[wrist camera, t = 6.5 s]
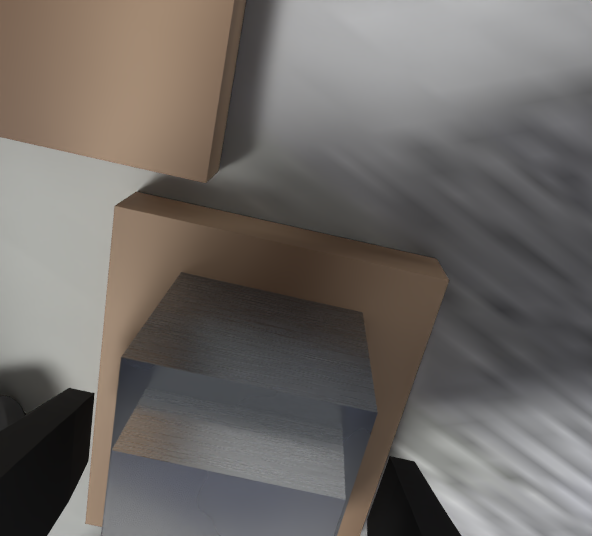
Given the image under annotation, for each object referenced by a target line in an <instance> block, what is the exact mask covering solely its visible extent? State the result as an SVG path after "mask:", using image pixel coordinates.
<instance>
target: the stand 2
mask: <svg viewBox="0 0 592 536" xmlns="http://www.w3.org/2000/svg"><path fill="white" fill-rule="evenodd" d="M181 272H183V273H188V274H192V275H197V276H201V277H206V278H210V279H215V280H219V281H224V282H228V283H233V284H237V285H242V286H246V287H251V288H255V289H260V290H264V291H269V292H273V293H278V294H282V295H287V296H291V297H296V298H300V299H305V300H309V301H314V302H318V303H323V304H327V305H332V306H336V307H341V308H345V309H350V310H354V311H359V312H363V318H364V325H365V331H366V338H367V345H368V351H369V358H370V365H371V371H372V378H373V385H374V391H375V398H376V405H377V411H378V414H377V417H376V420H375V423H374V426H373V429H372V432H371V435H370V438H369V441H368V444H367V447H366V450H365V453H364V456H363V459H362V462H361V465H360V468H359V471H358V474H357V477H356V480H355V483H354V486H353V489H352V492H351V495H350V498H349V501H348V504H347V507H346V510H345V513H344V516H343V519H342V522H341V525H340V528H339V531H338V534H337V536H360V534H361V531H362V528H363V525H364V522H365V519H366V517H367V514H368V511H369V508H370V505H371V502H372V499H373V497H374V494H375V491H376V488H377V485H378V482H379V479H380V477H381V474H382V471H383V468H384V465H385V462H386V459H387V457H388V454H389V451H390V448H391V445H392V442H393V439H394V437H395V434H396V431H397V428H398V425H399V422H400V419H401V417H402V414H403V411H404V408H405V405H406V402H407V399H408V397H409V394H410V391H411V388H412V385H413V382H414V380H415V377H416V374H417V371H418V368H419V365H420V362H421V360H422V357H423V354H424V351H425V348H426V345H427V342H428V340H429V337H430V334H431V331H432V328H433V325H434V322H435V320H436V317H437V314H438V311H439V308H440V305H441V302H442V300H443V297H444V294H445V291H446V288H447V285H448V282H449V279H448V277H447V276H446V274H445V272H444V270H443V269H442V267H441V265H440V264H439V262H438V260H437V259H435V258H431V257H426V256H422V255H418V254H413V253H409V252H404V251H400V250H395V249H391V248H386V247H382V246H377V245H373V244H368V243H364V242H359V241H355V240H350V239H346V238H342V237H337V236H333V235H328V234H324V233H319V232H315V231H310V230H306V229H301V228H297V227H292V226H288V225H283V224H279V223H274V222H270V221H266V220H261V219H257V218H252V217H248V216H243V215H239V214H234V213H230V212H225V211H221V210H216V209H212V208H207V207H203V206H198V205H194V204H189V203H185V202H181V201H176V200H172V199H167V198H163V197H158V196H154V195H149V194H145V193H140V192H135V193H134V194H132V195H131V196H129V197H128V198H126V199H124V200H123V201H121V202H120V203H118V204H117V205H115V208H114V219H113V230H112V241H111V252H110V262H109V273H108V284H107V295H106V306H105V316H104V327H103V338H102V349H101V360H100V371H99V381H98V392H97V403H96V414H95V425H94V436H93V446H92V457H91V468H90V479H89V490H88V501H87V511H86V522H85V524H90V525H95V526H100V527H102V523H103V514H104V505H105V496H106V487H107V478H108V469H109V460H110V451H111V443H112V434H113V425H114V416H115V407H116V398H117V389H118V380H119V371H120V362H121V357H122V355H123V354H124V352H125V351H126V349H127V348H128V347H129V345H130V344H131V342H132V341H133V340H134V338H135V337H136V335H137V334H138V332H139V331H140V330H141V328H142V327H143V325H144V324H145V323H146V321H147V320H148V318H149V317H150V316H151V314H152V313H153V311H154V310H155V308H156V307H157V306H158V304H159V303H160V301H161V300H162V299H163V297H164V296H165V294H166V293H167V291H168V290H169V289H170V287H171V286H172V284H173V283H174V282H175V280H176V279H177V277H178V276H179V275H180V273H181Z"/></svg>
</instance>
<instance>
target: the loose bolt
mask: <svg viewBox="0 0 592 536" xmlns="http://www.w3.org/2000/svg"><path fill="white" fill-rule="evenodd" d="M24 416H25V414H24V412H23V410H22V408H21V406H20V405H19V404H18V403H17V402H16V401H15V400H14V399H12V398H11V397H8V396H0V431H1V430H3V429H4V428H6V427H7V426H9V425H11V424H12V423H14V422H16V421H17V420H19V419H21V418H22V417H24Z"/></svg>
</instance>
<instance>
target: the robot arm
mask: <svg viewBox="0 0 592 536" xmlns="http://www.w3.org/2000/svg"><path fill="white" fill-rule="evenodd" d="M93 404H94V393H90V392H86V391H81V390H76V389H72V388H68V389H67V390H65V391H63V392H62V393H60V394H58V395H57V396H55V397H54V398H52V399H50V400H49V401H47V402H46V403H44V404H43V405H41V406H40V407H38V408H36V409H35V410H33V411H32V412H30V413H28V414H27V415H25V416H24V417H22V418H21V419H19V420H17V421H16V422H14V423H12V424H11V425H9V426H7V427H6V428H4V429H3V430H1V431H0V536H47V535H48V533H49V532H50V530H51V529H52V527H53V526H54V524H55V522H56V521H57V519H58V518H59V516H60V514H61V513H62V511H63V510H64V508H65V507H66V505H67V503H68V502H69V500H70V498H71V496H72V494H73V492H74V490H75V488H76V486H77V484H78V482H79V480H80V478H81V475H82V473H83V471H84V469H85V467H86V465H87V463H88V459H89V448H90V437H91V426H92V415H93ZM367 536H461V534H460V533H459V531H458V530H457V528H456V527H455V525H454V524H453V522H452V521H451V519H450V518H449V516H448V515H447V513H446V512H445V510H444V508H443V507H442V505H441V504H440V502H439V500H438V499H437V497H436V496H435V494H434V492H433V491H432V489H431V487H430V486H429V484H428V483H427V481H426V479H425V478H424V476H423V474H422V473H421V471H420V470H419V468H418V466H417V465H416V463H415V462H414V461H410V460H405V459H401V458H396V457H391V456H390V457H389V460H388V463H387V465H386V468H385V471H384V474H383V477H382V480H381V482H380V485H379V488H378V491H377V494H376V497H375V499H374V502H373V505H372V508H371V511H370V514H369V516H368V519H367Z"/></svg>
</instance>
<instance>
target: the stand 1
mask: <svg viewBox="0 0 592 536" xmlns="http://www.w3.org/2000/svg"><path fill="white" fill-rule="evenodd" d="M245 5H246V0H0V137H3V138H7V139H12V140H16V141H20V142H25V143H29V144H34V145H38V146H43V147H47V148H52V149H56V150H61V151H65V152H69V153H74V154H78V155H83V156H87V157H92V158H96V159H101V160H105V161H109V162H114V163H118V164H123V165H127V166H132V167H136V168H141V169H145V170H149V171H154V172H158V173H163V174H167V175H172V176H176V177H181V178H185V179H189V180H194V181H198V182H203V183H207V182H208V181H209V180H210V179H211V178H212V177H213V176H214V175H215V174H216V173H217V172H218V171H219V165H220V159H221V153H222V147H223V140H224V134H225V128H226V122H227V116H228V110H229V104H230V97H231V91H232V85H233V79H234V73H235V67H236V60H237V54H238V48H239V42H240V36H241V30H242V24H243V17H244V11H245Z"/></svg>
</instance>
